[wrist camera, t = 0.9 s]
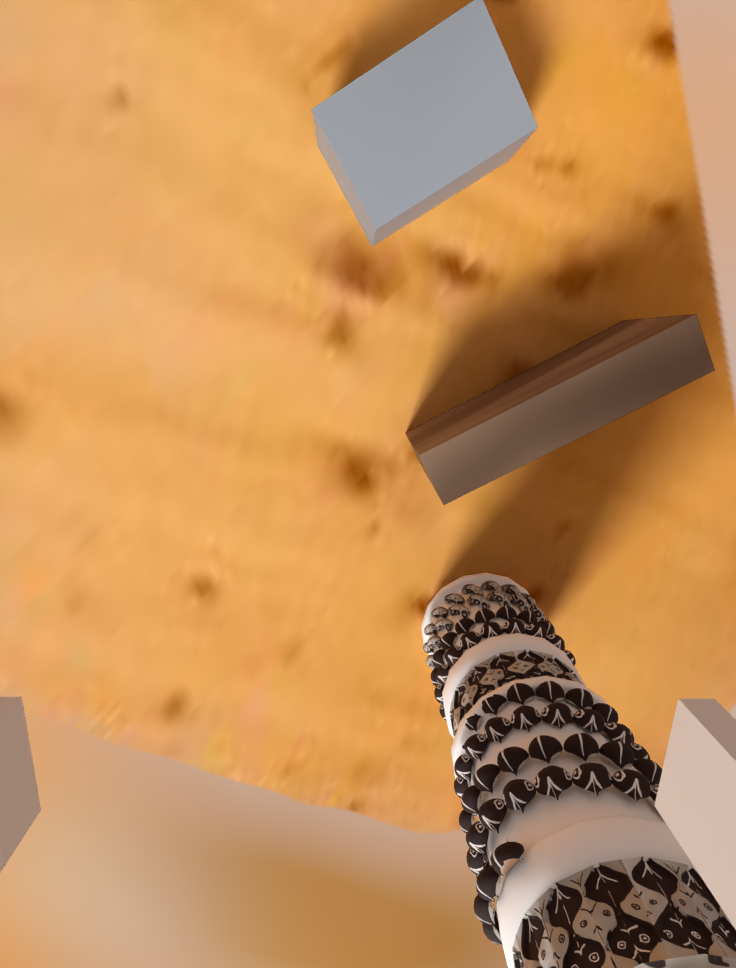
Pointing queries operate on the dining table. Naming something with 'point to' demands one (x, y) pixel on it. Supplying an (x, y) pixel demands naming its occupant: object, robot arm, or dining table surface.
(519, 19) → the dining table surface
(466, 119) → the slate block
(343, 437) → the dining table surface
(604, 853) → the decorative candle
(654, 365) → the board
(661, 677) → the dining table surface
